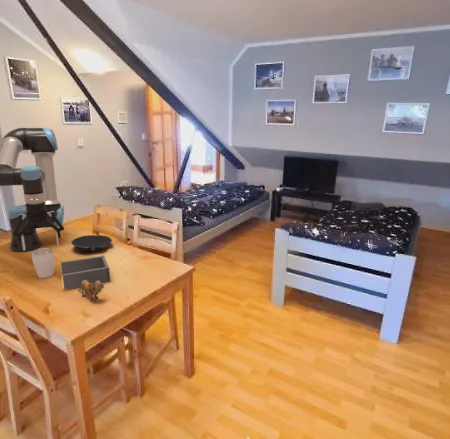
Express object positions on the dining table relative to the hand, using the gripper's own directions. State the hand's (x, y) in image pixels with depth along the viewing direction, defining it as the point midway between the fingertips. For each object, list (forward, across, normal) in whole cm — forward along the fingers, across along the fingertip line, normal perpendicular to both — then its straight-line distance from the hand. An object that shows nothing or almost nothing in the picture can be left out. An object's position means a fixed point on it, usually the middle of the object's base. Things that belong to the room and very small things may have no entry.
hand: (41, 247), depth 154 cm
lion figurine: (+15, +17, -28) cm, 36 cm away
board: (+14, +24, +26) cm, 38 cm away
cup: (+15, 0, 0) cm, 15 cm away
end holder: (+14, +16, -11) cm, 24 cm away
